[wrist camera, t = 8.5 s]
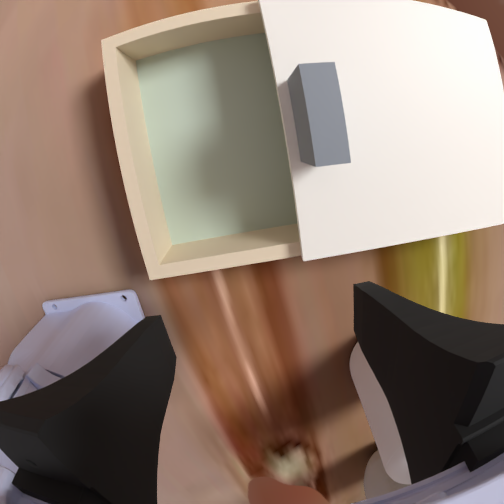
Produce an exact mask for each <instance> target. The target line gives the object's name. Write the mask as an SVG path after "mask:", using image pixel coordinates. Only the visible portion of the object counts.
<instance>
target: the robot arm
mask: <svg viewBox="0 0 504 504" xmlns="http://www.w3.org/2000/svg"><path fill="white" fill-rule="evenodd" d="M353 285H354V332H355V334H356V337H357V340H358V343H359V345H360V348H361V351H362V353H363V354H364V356H365V358H366V360H367V362H368V364H369V366H370V368H371V369H372V371H373V373H374V375H375V377H376V379H377V381H378V383H379V384H380V386H381V388H382V390H383V392H384V394H385V396H386V398H387V401H388V403H389V406H390V409H391V411H392V414H393V417H394V420H395V423H396V426H397V429H398V432H399V436H400V439H401V442H402V446H403V449H404V453H405V457H406V461H407V465H408V470H409V474H410V479H411V484H412V485H409V486H407V487H404V488H401V489H398V490H395V491H392V492H389V493H386V494H383V495H380V496H377V497H373V498H370V499H366V500H363V501H359V502H355V503H351V504H504V325H503V324H492V323H484V322H477V321H472V320H467V319H462V318H458V317H454V316H451V315H448V314H444V313H441V312H438V311H435V310H432V309H429V308H427V307H424V306H422V305H420V304H417V303H415V302H412V301H410V300H408V299H406V298H404V297H402V296H399V295H397V294H395V293H393V292H391V291H389V290H387V289H385V288H383V287H381V286H379V285H377V284H374V283H372V282H369V281H368V282H363V283H358V284H353ZM122 295H124V296H126V298H127V299H124V298H123V297H122ZM54 304H55V305H56V306H57V307H56V306H55V305H54ZM42 306H43V309H44V311H45V314H46V315H45V316H44V317H43V318H42V319H41V320H40V321H39V322H38V323H37V324H36V325H35V326H34V327H33V329H32V330H31V331H30V332H29V333H28V334H27V335H26V336H25V337H24V339H23V340H22V341H21V342H20V343H19V344H18V345H17V346H16V348H15V349H14V350H13V352H12V353H11V355H10V358H9V361H8V365H5V366H4V367H3V368H2V369H1V370H0V504H157V467H158V452H159V443H160V434H161V429H162V424H163V420H164V416H165V412H166V408H167V404H168V401H169V397H170V393H171V389H172V385H173V381H174V375H175V366H176V355H175V352H174V350H173V347H172V345H171V342H170V339H169V337H168V334H167V331H166V328H165V326H164V323H163V320H162V317H161V315H158V316H150V317H145V316H144V313H143V311H142V308H141V305H140V302H139V300H138V297H137V294H136V292H135V291H133V290H130V289H128V290H121V291H114V292H107V293H100V294H93V295H86V296H79V297H71V298H64V299H56V300H49V301H45V302H44V303H43V305H42Z"/></svg>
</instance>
